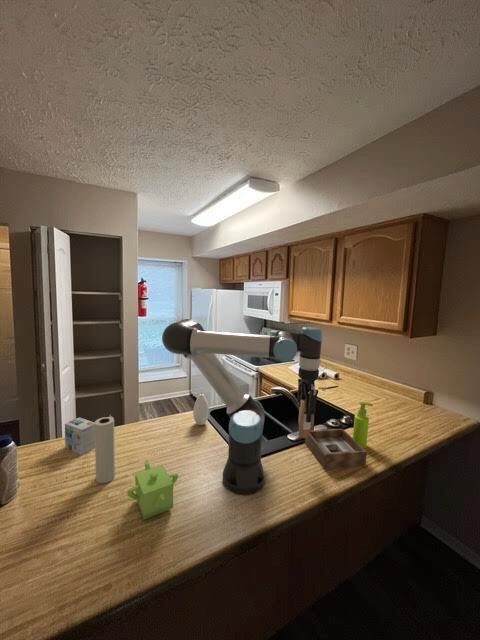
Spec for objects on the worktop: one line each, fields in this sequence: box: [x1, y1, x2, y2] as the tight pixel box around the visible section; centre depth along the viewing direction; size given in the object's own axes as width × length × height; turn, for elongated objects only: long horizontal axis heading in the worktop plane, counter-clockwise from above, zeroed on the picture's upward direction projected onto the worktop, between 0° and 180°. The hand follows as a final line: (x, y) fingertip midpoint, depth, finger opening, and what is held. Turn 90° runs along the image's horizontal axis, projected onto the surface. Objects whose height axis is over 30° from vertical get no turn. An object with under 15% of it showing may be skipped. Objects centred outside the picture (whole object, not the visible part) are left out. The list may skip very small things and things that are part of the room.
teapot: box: [127, 459, 179, 521], centre depth 84 cm, size 15×13×11 cm
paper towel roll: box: [94, 415, 116, 484], centre depth 95 cm, size 7×6×21 cm
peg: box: [297, 399, 310, 439], centre depth 106 cm, size 4×4×14 cm
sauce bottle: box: [192, 389, 210, 426], centre depth 136 cm, size 8×8×18 cm
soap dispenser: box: [352, 401, 374, 449], centre depth 122 cm, size 6×7×20 cm
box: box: [304, 428, 368, 470], centre depth 115 cm, size 18×18×6 cm
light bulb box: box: [64, 416, 95, 456], centre depth 113 cm, size 11×7×11 cm, turn 65°
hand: (304, 425), depth 106 cm, fingers closed on peg, 4 cm apart
